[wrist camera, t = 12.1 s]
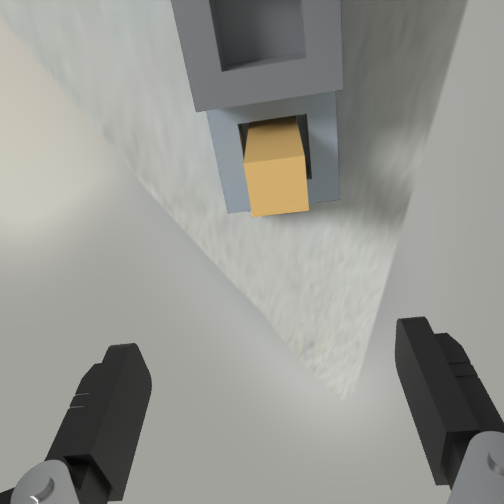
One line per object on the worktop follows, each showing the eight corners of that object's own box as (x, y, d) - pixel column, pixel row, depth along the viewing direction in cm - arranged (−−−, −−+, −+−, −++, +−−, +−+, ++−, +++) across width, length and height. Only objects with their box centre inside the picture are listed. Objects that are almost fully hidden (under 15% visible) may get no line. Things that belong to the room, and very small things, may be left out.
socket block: (180, -58, 29) (154, -71, 22) (320, -86, 28) (337, -109, 21) (231, 194, 40) (223, 236, 33) (333, 181, 39) (347, 221, 32)
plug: (249, 121, 35) (243, 163, 27) (295, 115, 35) (304, 155, 26) (256, 173, 38) (254, 226, 29) (300, 168, 37) (309, 220, 29)
